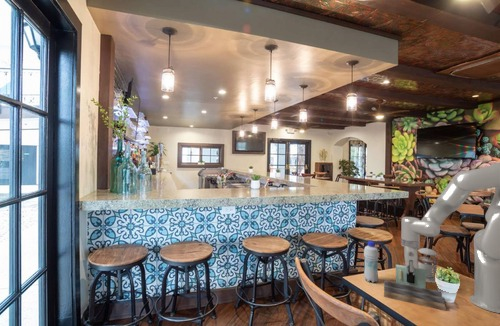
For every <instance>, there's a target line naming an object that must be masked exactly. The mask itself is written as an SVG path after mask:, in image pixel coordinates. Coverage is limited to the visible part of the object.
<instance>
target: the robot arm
mask: <svg viewBox="0 0 500 326" xmlns="http://www.w3.org/2000/svg"><path fill="white" fill-rule="evenodd" d="M492 188H495V191H494V195H493V198H492V199H491V202H490V204H489V206H488V209H487V210H486V212H485V215H484V217H485V221H486V222H487V224H486V225H485V228H483V229H479V230H478V231H476V233H475V234H474V236H473V248H474V249H473V251H474V276H473V277H474V279H473V280H474V283H473V284H474V289H473V290H474V291H473V292H474V294H472V295H470V296H469V301H470V302H471V303H472V304H473V305H475V306H477V307H478V308H481V309H483V310H486V311H488V312H493V313H498V314H500V162H495V163H492V164H490V165H488V166H484V167H481V168H476V169H469V170H460V171H458V172H457V173H455V174H454V176H453V177H452V178H451V179H450V181H449V182H448V184H447V185H446V187H444V189H443V190H442V192H441V193H440V194H439V196H438V197H437V198H436V199H435V201H434V203H433V204H432V205H431V206H430V208H429V209H428V210H427V212H426V213H425V214H424V216H423V217H422V219H419V218H417V217H414V216H402V218H401V222H400V223H401V227H400V228H401V230H400V231H401V234H400V235H401V238H400V239H401V241H400V242H401V243H400V246H402V247H403V253H404V254H403V255H404V258H403V259H404V264H405V265H404V266H406V268H407V282H408V283H413V284H414V283H415V275H414V268H415V269H416V270H418V261H419V258H418V257H419V256H418V255H419V254H418V252H419V251H418V250H419V249H421V248H420V243H421V241H420V240H421V235H422V236H425V237H427V236H428V238H434V237H437V236H439V234H440V233H441V228H440V227H441V225H442V224H443V222H445V220H446V219H447V218H448V217H449V216H450V215H451V214H453V212H456V211H458V210H459V209H460V208H461V206H462V205H463V204H464V203H465V202H466V200H467V199H468V198H469V196H471V194H472V193H473V192H476V191H482V190H487V189H492ZM409 267H410V268H409ZM409 269H410V270H409Z"/></svg>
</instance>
